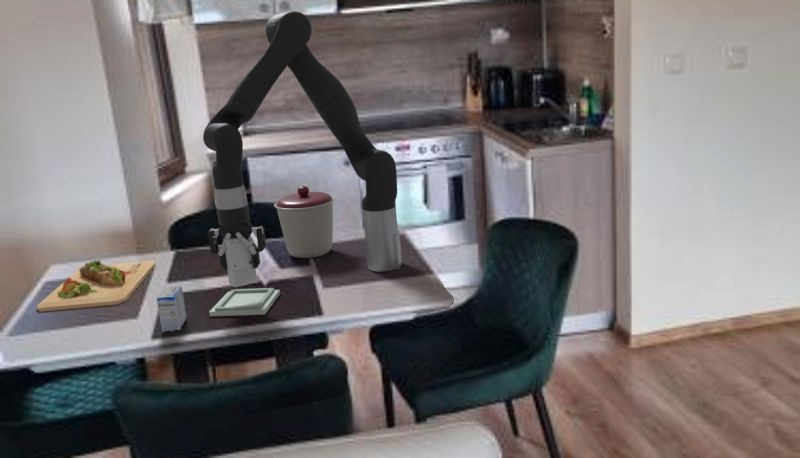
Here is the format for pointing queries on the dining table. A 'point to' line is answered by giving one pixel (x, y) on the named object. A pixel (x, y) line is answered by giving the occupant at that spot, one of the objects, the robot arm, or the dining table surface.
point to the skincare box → (239, 263)
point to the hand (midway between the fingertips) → (241, 268)
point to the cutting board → (97, 286)
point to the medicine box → (171, 308)
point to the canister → (306, 222)
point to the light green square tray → (245, 302)
